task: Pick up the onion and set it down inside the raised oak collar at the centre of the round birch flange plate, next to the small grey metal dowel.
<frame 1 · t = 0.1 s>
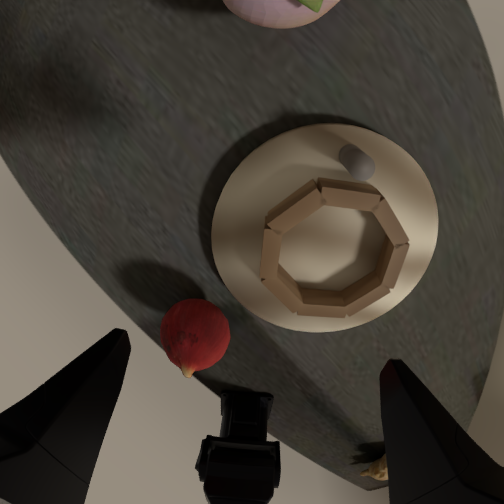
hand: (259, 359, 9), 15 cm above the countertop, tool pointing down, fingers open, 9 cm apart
flange plate: (329, 239, 23), on the countertop
onion: (203, 303, 28), on the countertop
ginger root: (396, 449, 47), on the countertop
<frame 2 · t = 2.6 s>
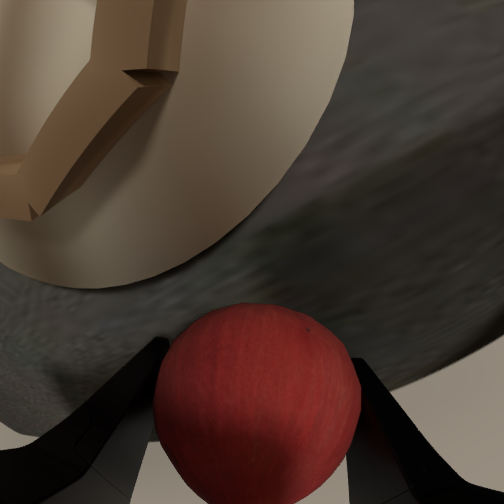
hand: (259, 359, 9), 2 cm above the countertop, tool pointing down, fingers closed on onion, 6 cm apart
flange plate: (48, 33, 6), on the countertop
onion: (261, 313, 11), on the countertop, touching gripper
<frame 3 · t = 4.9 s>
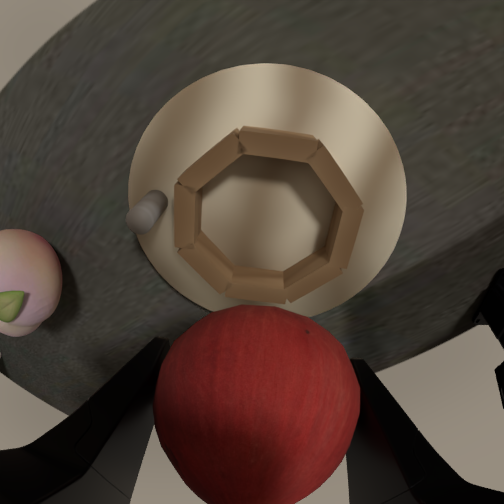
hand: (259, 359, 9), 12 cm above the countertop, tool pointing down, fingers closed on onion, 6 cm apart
flange plate: (267, 206, 20), on the countertop
onion: (261, 314, 11), point 10 cm above the countertop, touching gripper
decorative fruit: (46, 248, 23), on the countertop
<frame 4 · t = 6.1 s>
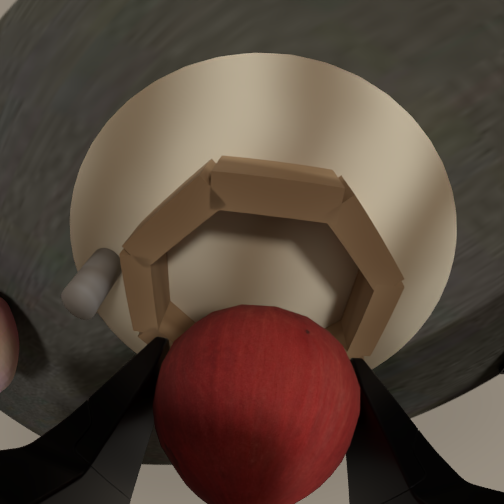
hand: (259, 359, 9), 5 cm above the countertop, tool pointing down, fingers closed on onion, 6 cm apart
flange plate: (261, 267, 14), on the countertop
onion: (261, 314, 11), point 3 cm above the countertop, touching gripper
decorative fruit: (3, 297, 17), on the countertop
when the fingers open (5 cm above the countertop, at t = 7.0 s): onion drops 2 cm, resting on flange plate.
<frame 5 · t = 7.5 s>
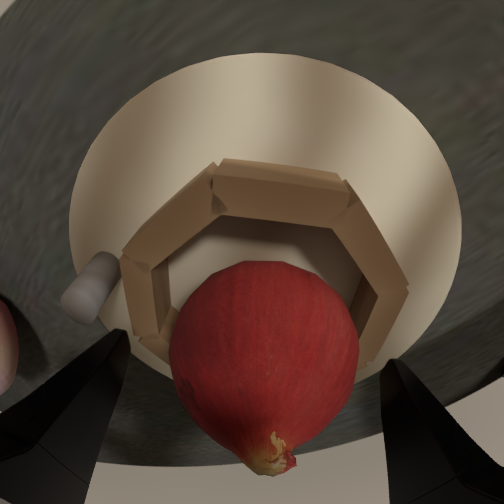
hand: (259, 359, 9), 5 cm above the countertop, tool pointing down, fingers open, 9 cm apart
flange plate: (263, 271, 14), on the countertop
onion: (264, 288, 13), point 1 cm above the countertop, touching flange plate
decorative fruit: (3, 299, 17), on the countertop
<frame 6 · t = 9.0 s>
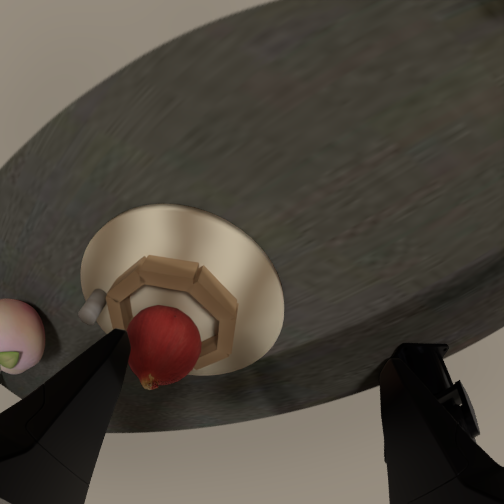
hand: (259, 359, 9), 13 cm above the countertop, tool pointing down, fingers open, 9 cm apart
flange plate: (177, 301, 26), on the countertop
onion: (175, 310, 25), point 1 cm above the countertop, touching flange plate
decorative fruit: (32, 306, 29), on the countertop
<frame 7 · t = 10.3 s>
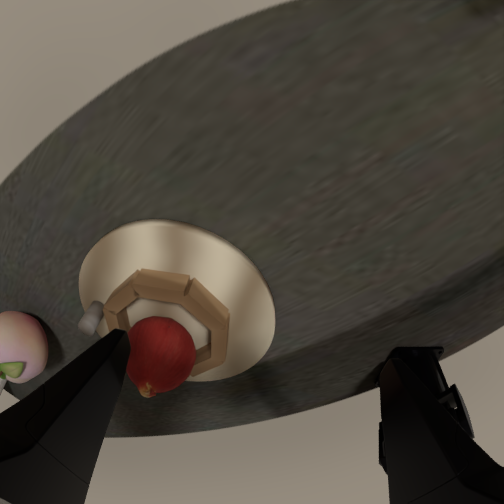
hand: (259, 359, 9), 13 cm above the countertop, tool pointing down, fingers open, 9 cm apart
flange plate: (172, 311, 26), on the countertop
onion: (170, 319, 25), point 1 cm above the countertop, touching flange plate
decorative fruit: (35, 317, 30), on the countertop
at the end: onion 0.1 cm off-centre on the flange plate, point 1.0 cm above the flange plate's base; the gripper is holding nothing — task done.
